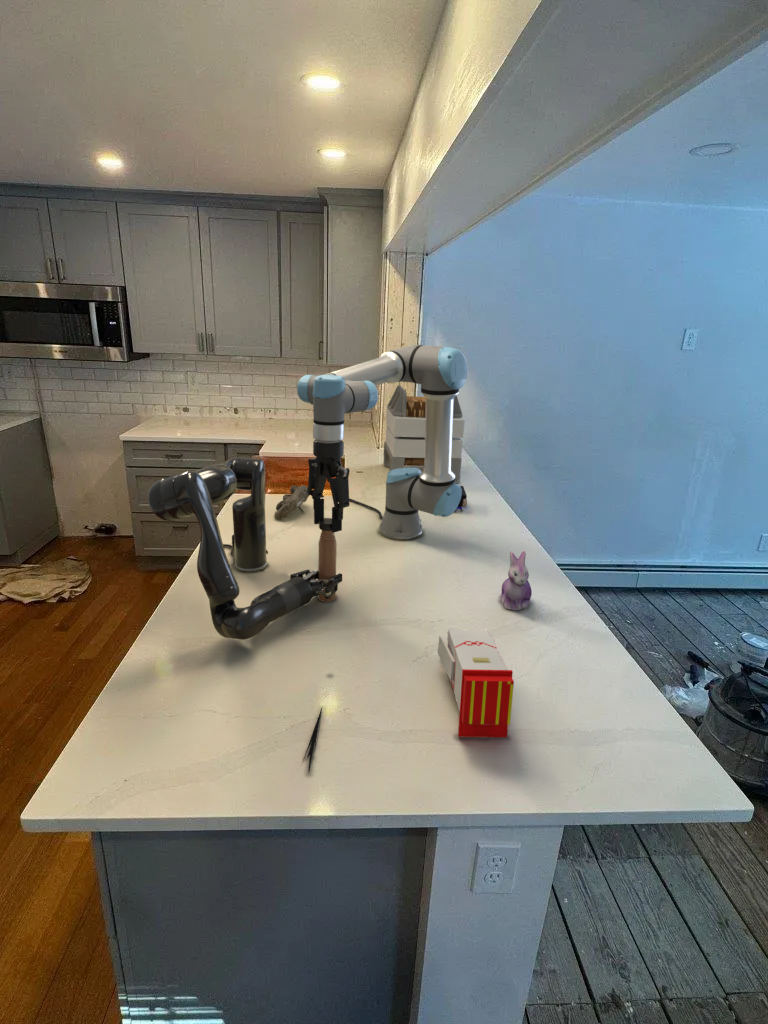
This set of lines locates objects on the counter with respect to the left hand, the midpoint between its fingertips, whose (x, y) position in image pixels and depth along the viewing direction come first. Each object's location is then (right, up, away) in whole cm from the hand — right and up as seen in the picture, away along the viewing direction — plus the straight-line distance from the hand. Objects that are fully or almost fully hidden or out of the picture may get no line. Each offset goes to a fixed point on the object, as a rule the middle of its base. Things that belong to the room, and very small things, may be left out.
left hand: (333, 573), depth 154 cm
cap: (-1, +14, -7) cm, 16 cm away
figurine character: (+43, +19, +75) cm, 89 cm away
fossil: (-21, +17, +62) cm, 68 cm away
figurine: (+50, -8, +1) cm, 51 cm away
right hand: (-1, +13, -7) cm, 15 cm away
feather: (+1, -23, -46) cm, 51 cm away
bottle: (-2, -6, 0) cm, 7 cm away
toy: (+32, -21, -36) cm, 52 cm away
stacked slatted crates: (+31, +36, +121) cm, 130 cm away
